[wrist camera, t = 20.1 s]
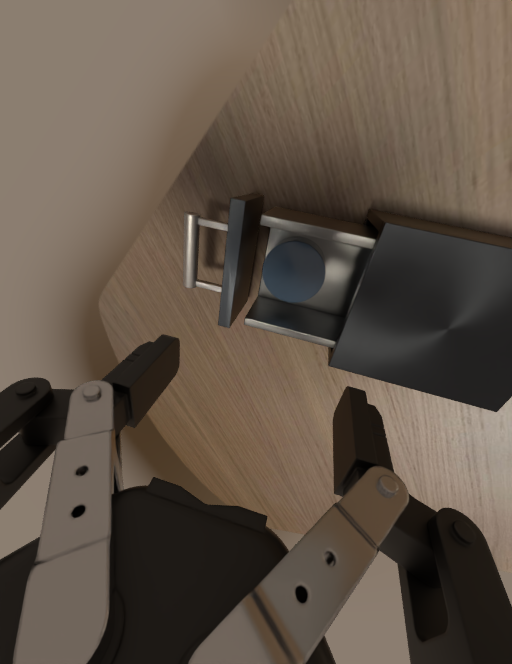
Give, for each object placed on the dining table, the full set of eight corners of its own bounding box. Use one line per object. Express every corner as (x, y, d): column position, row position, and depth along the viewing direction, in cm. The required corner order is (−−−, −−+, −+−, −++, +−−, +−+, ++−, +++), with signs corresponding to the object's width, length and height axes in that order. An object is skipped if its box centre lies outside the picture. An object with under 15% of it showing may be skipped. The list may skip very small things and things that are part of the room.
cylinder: (255, 270, 28) (250, 277, 26) (292, 222, 25) (288, 226, 23) (298, 304, 29) (296, 314, 27) (339, 262, 26) (339, 270, 24)
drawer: (199, 288, 32) (171, 312, 27) (205, 183, 26) (170, 185, 21) (350, 327, 30) (355, 362, 25) (394, 222, 24) (414, 236, 19)
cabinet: (328, 322, 32) (328, 366, 24) (369, 208, 25) (385, 222, 18) (456, 355, 30) (496, 412, 23) (537, 242, 23) (630, 273, 16)
